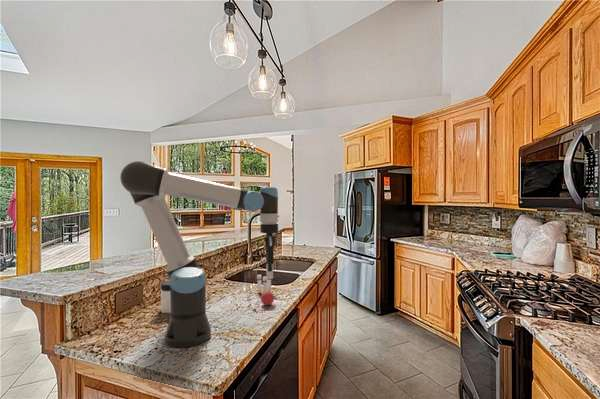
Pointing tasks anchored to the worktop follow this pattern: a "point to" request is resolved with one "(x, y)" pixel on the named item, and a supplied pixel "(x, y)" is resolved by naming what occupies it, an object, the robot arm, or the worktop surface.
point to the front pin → (264, 284)
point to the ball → (267, 298)
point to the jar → (165, 297)
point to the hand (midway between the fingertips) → (269, 278)
